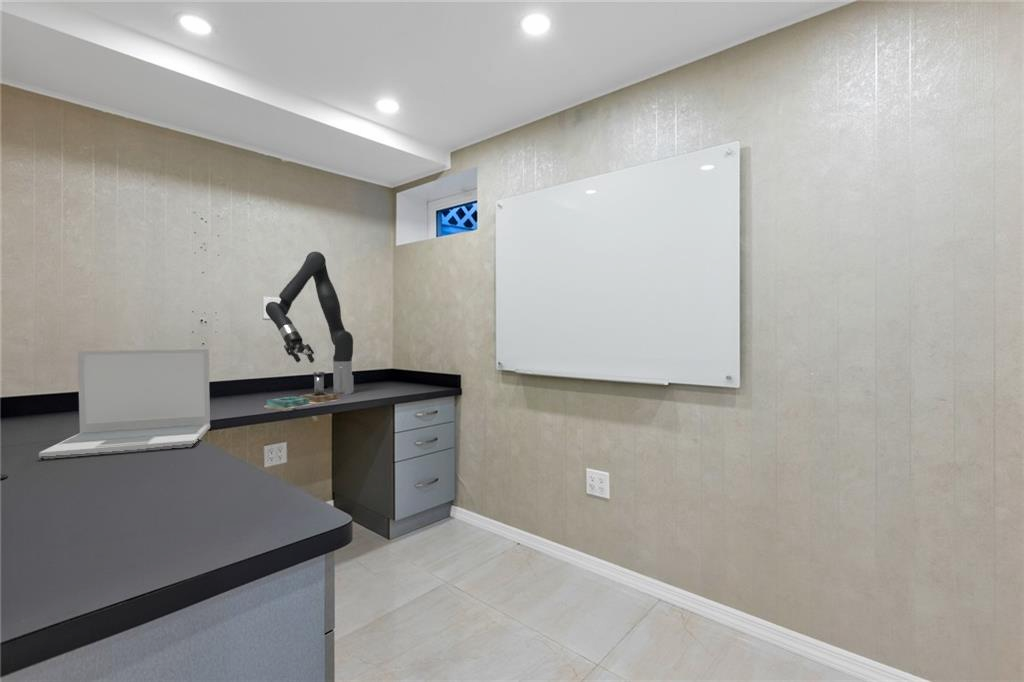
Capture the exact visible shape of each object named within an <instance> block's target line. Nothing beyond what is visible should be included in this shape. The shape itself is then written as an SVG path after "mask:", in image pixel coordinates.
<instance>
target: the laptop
mask: <svg viewBox="0 0 1024 682" xmlns="http://www.w3.org/2000/svg"><path fill="white" fill-rule="evenodd" d="M209 352H210V351H209V348H197V349H195V348H193V349H192V348H188V349H187V348H186V349H180V348H178V349H130V350H129V349H124V350H121V349H120V350H119V349H117V350H116V349H115V350H114V349H113V350H112V349H111V350H77V371H78V372H77V375H78V378H77V380H78V381H77V382H78V413H79V433H77V434H74V435H73V436H70V437H68V438H66V439H64V440H62V441H60V442H58V443H56V444H54V445H52V446H49V447H47V448H46V449H43V450H41V451H39V452H38V458H39V457H41V456H56V455H70V454H85V453H98V452H112V451H124V450H137V449H146V448H155V447H163V446H172V445H182V444H192V443H195V442H196V441H198V440H197V439H199V440H201V438H203V436H204V435H205V434H206V433H207V432H208V431H209V430H210V428H211V410H210V408H211V407H210V406H211V405H210V403H211V402H210V399H211V398H210V357H209V356H210V355H209V354H210V353H209ZM198 442H199V441H198Z"/></svg>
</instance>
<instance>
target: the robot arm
mask: <svg viewBox="0 0 1024 682" xmlns="http://www.w3.org/2000/svg"><path fill="white" fill-rule="evenodd" d="M326 262H327V261H326V257H325V255H324V254H323V253H321V252H320V251H311V252H309V253H308V254H307V256H306V257H305V260H304V262H303V264H302V266H301V267H300V268H299V270H298V271H297V272H296V274H295V275H294V276H293V278H291V280H290V281H289V282H288V283H287V284H286V286H285V287H284V288H283V289H282V290H281V291H280V293H279V295H278V297H279V299H280V301H279V303H278V302H276V301H269V302H268V303H267V304H265V313H266V314H267V316H268V318H270V319H271V321H272V322H273V324H274V325H276V327H277V329H278V332H279V333H280V335H281V338H282V339H283V341H284V343H285V344H284V345H283V348H284V350H285V352H286V354H287V355H288V356H292V357H293V359H294V360H295V362H296V363H300V361H302V359H301V358H300V355H299V354H302V355H304V356H306V357H307V359H308V361H309V363H311V364H312V363H314V362H315V358H314V356H313V355H314V354H315V352H314V350H313V348H312V347H311V345H310V344H309V343H307V344H304V343H303V337H302V336H301V334H300V332H299V331H298V329H297V328H296V326H295V325H294V324H293V321H292V320H291V319H290V318H289V317H288V316H287V315H288V314H289V311H290V309H291V307H292V305H293V302H294V301H295V300H296V298H297V297H298V296H299V295H300V293H302V290H303V289H304V288H305V286H306V284H307V283H308V282H309V281H310V280H311V278H312V277H313V280H314V284H315V289H316V294H317V295H316V296H317V298H318V302H319V304H320V307H321V310H322V313H323V315H324V318H325V321H326V323H327V325H328V329H329V334H330V340H331V342H332V344H333V346H334V354H333V356H332V357H333V358H332V360H333V361H332V362H333V363H332V366H333V367H332V368H333V369H332V372H333V375H332V376H333V378H332V379H333V380H332V382H333V384H332V385H333V394H339V395H341V394H343V395H351V394H353V393H354V391H355V390H354V375H353V364H352V363H353V362H352V361H353V360H352V358H353V354H354V339H353V335H352V333H351V332H349V331H347V330H346V328H345V327H344V324H343V320H342V311H341V303H340V301H339V298H338V294H337V291H336V290H335V287H334V285H333V283H332V281H331V279H330V276H329V272H328V269H327V264H326Z"/></svg>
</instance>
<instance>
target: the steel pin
mask: <svg viewBox="0 0 1024 682" xmlns="http://www.w3.org/2000/svg"><path fill="white" fill-rule="evenodd" d="M312 374H313V376H314V377H313V378H314V393H315V396H322V395H324V393H325V388H324V387H325V384H324V383H325V381H324V379H325V374H326V373H325V372H324V371H314V372H312Z"/></svg>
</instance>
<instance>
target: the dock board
mask: <svg viewBox="0 0 1024 682" xmlns="http://www.w3.org/2000/svg"><path fill="white" fill-rule="evenodd" d="M341 400H342V399H340V398H339V393H334V392H333V393H331V392H324V395H322V396H315V392H314V393H307V394H300V395H299V396H287V397H279V398H273V399H272V398H271V399H267V403H266V405H264V406H263V407H264V409H269V410H276V411H284V412H289V411H293V410H294V411H295V410H297V408H298V407H306V406H310V405H317V404H323V403H328V402H329V403H331V402H336V401H341Z"/></svg>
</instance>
